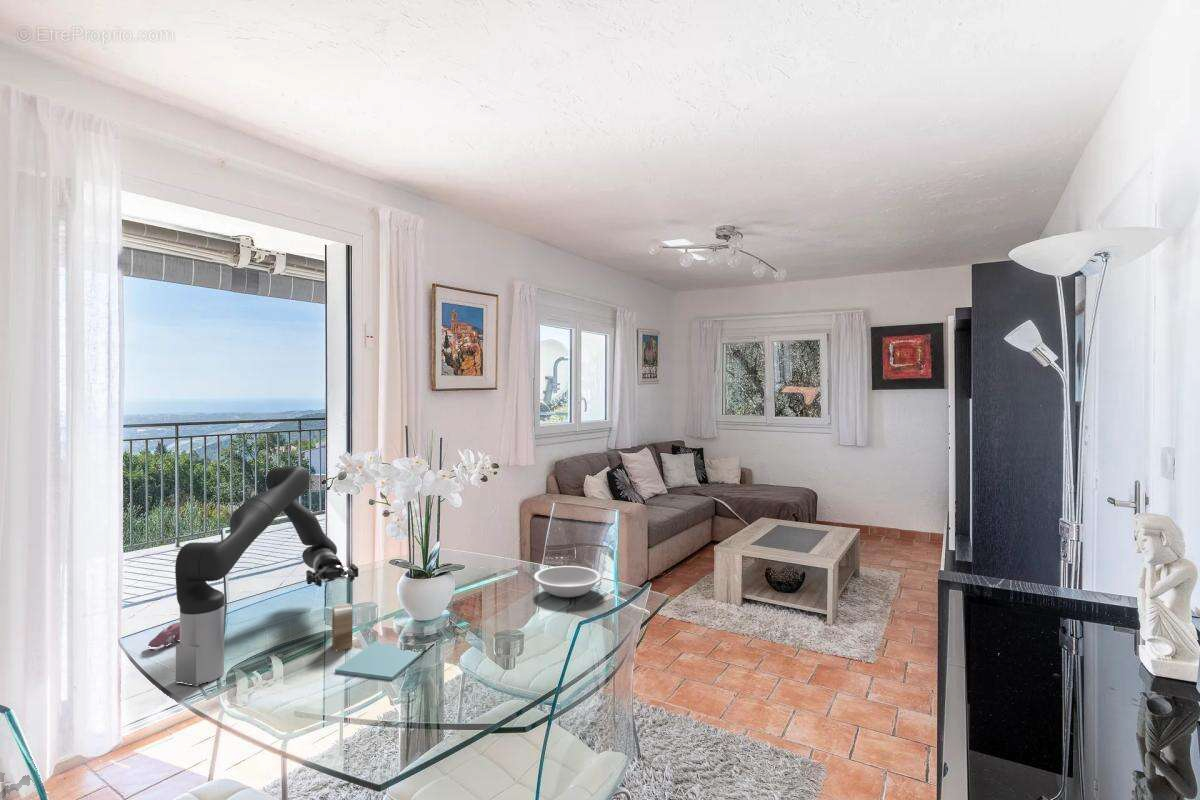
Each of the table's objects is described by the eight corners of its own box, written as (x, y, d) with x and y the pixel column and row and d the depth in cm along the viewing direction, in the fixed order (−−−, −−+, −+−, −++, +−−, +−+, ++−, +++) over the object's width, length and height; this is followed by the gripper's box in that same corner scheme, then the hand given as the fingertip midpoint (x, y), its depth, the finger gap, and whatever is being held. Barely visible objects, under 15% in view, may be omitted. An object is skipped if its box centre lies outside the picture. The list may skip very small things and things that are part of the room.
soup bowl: (578, 611, 198) (578, 591, 198) (519, 597, 210) (520, 578, 209) (613, 590, 218) (613, 572, 218) (558, 579, 230) (558, 562, 230)
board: (392, 680, 149) (392, 677, 149) (335, 672, 152) (335, 669, 152) (435, 643, 171) (435, 641, 171) (384, 637, 174) (384, 635, 174)
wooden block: (352, 647, 167) (352, 608, 167) (334, 651, 165) (335, 611, 165) (349, 641, 171) (349, 603, 171) (332, 645, 169) (332, 606, 168)
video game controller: (157, 657, 163) (167, 635, 162) (144, 648, 164) (154, 626, 163) (188, 642, 173) (198, 621, 172) (177, 633, 173) (186, 613, 173)
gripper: (302, 557, 187) (309, 572, 173) (351, 551, 195) (361, 564, 181) (302, 581, 187) (309, 597, 173) (351, 574, 195) (361, 589, 181)
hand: (336, 580), depth 177 cm, fingers open, 8 cm apart
